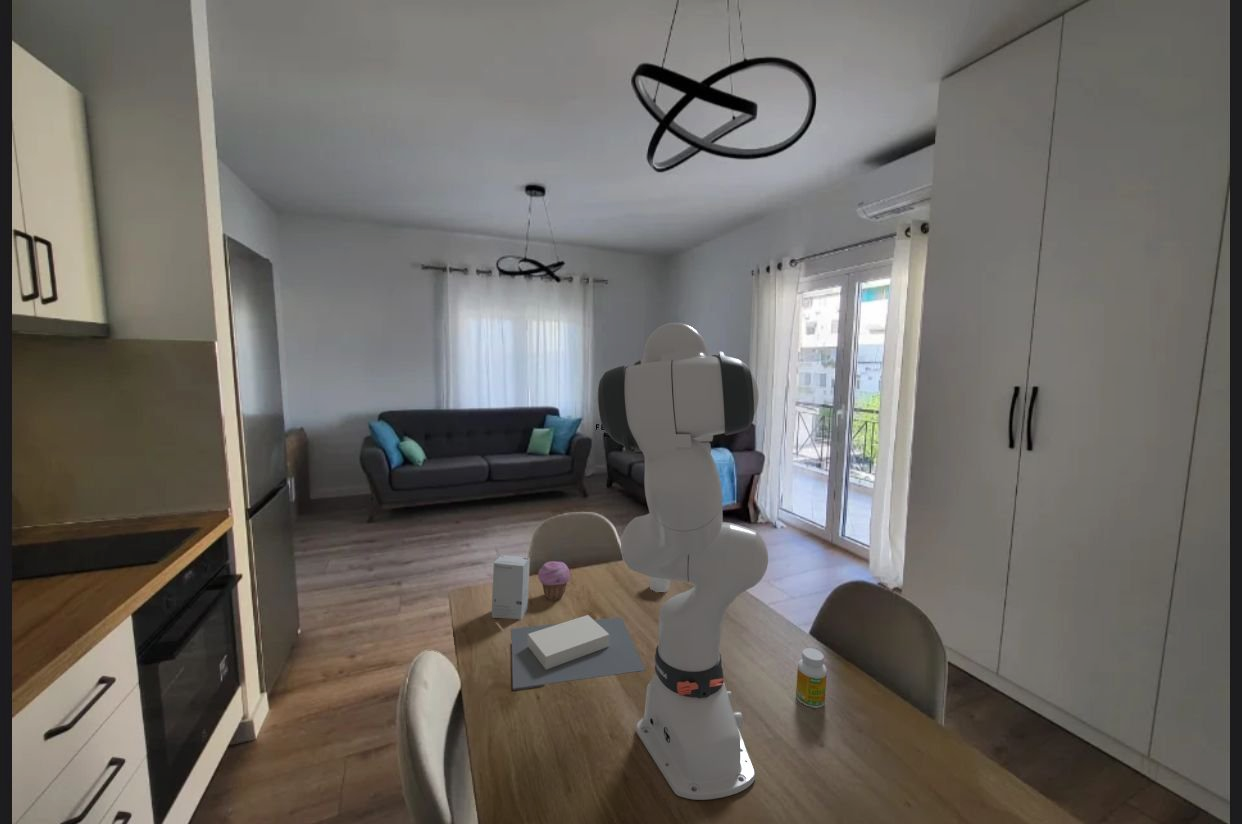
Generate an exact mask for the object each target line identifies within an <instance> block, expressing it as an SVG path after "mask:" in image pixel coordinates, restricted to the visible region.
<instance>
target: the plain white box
mask: <svg viewBox="0 0 1242 824" xmlns="http://www.w3.org/2000/svg"><path fill="white" fill-rule="evenodd" d="M594 620H595V619H594V618H592V617H591V616H590V615H589V614H586V615H584V616H580V617H577V618H574V619H570V620H567V621H565V622H561V623H557V624H558V625H554V626H551V627H548V628H545V629H542V630H539V631H536V632H532V633H529V634H528V647H529V649H530V650H531V651H532V652H533V654H534V655H535V656H536V658H537V659H538V660H539V661H540V663H541V664H542V665H543V667H544V668H545V669H546V670H547V669H550V668H552V667H555V666H558V665H560V664H563V663H566V662H569V661H571V660H574V659H577V658H579V657H582V656H585V655H587V654H590V653H593V652H596V651H598V650H601V649H604V648H606V647H609V634H608V633H607V632H606V631H605V630H604V629H603V628H602V627H601V626H600V625H599V624H598V623H596V622H595V621H594Z"/></svg>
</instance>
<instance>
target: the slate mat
mask: <svg viewBox="0 0 1242 824" xmlns="http://www.w3.org/2000/svg"><path fill="white" fill-rule="evenodd" d="M593 620H594V621H595V622H596V623H598V624H599V625H600V626H601V627H602V628H603V629H604V630H605V631H606V632H607V633H608V634H609V647H606V648H604V649H601V650H598V651H596V652H593V653H590V654H587V655H585V656H582V657H579V658H577V659H574V660H571V661H569V662H566V663H563V664H560V665H558V666H555V667H552V668H550V669H547V670H546V669H545V668H544V667H543V665H542V664H541V663H540V661H539V660H538V659H537V658H536V656H535V655H534V654H533V652H532V651H531V650H530V649H529V647H528V634H529V633H532V632H536V631H539V630H542V629H545V628H548V627H551V626H554V625H558V624H559V623H553V624H545V625H537V626H536V625H534V626H526V627H517V628H511V662H512V664H511V669H512V670H511V671H512V673H511V674H512V691H516V690H518V689H519V690H525V689H526V690H527V689H531V688H538V687H539V686H540V687H545V685H550V684H557V683H564V682H571V681H572V682H573V681H579V680H586V679H591V678H593V679H595V678H600V677H607V676H615V675H621V674H629V673H637V672H643V671H644V672H645V671H646V668H645V665H644V663H643V662H642V659H641V656H640V655H639V652H638V650H637V648H636V645H635V644H634V641H633V639H632V637H631V635H630V633H629V630H628V628H627V626H626V624H625V622H624V619H623V617H622V616H615V617H609V618H598V619H593Z"/></svg>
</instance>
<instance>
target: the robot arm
mask: <svg viewBox="0 0 1242 824" xmlns="http://www.w3.org/2000/svg"><path fill="white" fill-rule="evenodd" d="M644 345H645V346H644V349H643V356H642V357H643V358H642V359H640V360H638V361H636V362H635V363H634V364H633V365H631V366H629V365H627V364H624V365H620V366H617V367H614V368H611V369H609V370H607V371H605V372H604V373H603V374H602V376H601V378H600V380H599V383H598V388H597V392H596V398H595V399H596V400H595V403H596V411H597V416H598V418H599V421H600V422H601V423H600V424H601V427H602V429H603V430H604V431H605V433H607V436H609V437H610V438H611V439H612V440H613V441H614V442H616V443H617V444H620V445H621V446H622V447H623V446H624V449H625V451H626V453H627V454H630V455H634V453H635V451H636V449H637V450H638V451H641V452H642V454H643V456H644V478H643V479H644V480H643V481H644V494H645V499H646V504H647V508H648V513H647V514H644V515H639V516H635V517H634V518H633V519H632V520H631V521H629V522H628V524H627V525H626V526H625V528H624V530H623V532H622V536H621V539H620V552H621V556H622V558H623V561H624V563H625V565H626V566H627V567H628V569H629V570H631V571H633V572H636V573H638V574H641V575H644V576H647V577H649V576H650V577H653V578H659V579H666V580H670V581H674V582H675V581H676V582H679V583H680V582H682V583H688V584H691V585H693V587H692V588H691V589H688V590H687V591H686V590H685V591H684V592H681V593H678V594H675V595H673V596H672V597H670V598H669V599H668V600H666V601H665V602H664V603H663V604H662V606H661V608H660V611H659V614H658V638H657V639H658V640H657V641H658V642H657V643H658V644H657V645H656V648H655V653H654V654H655V655H654V669H655V670H654V674H653V677H652V678H651V680H650V681H649V682H648V684H647V686H646V694H645V703H644V714H643V717H642V718H641V719H640V720H639V721H638V722H637V724H636V728H635V732H636V734H637V735H638V737H639V739H640V740H641V742H642V744H643V745H644V747H645V748H646V750H647V751H648V753H649V754H650V756H651V758H652V760H653V761H654V763H655V764H656V766H657V768H658V769H659V771H660V772H661V774H662V776H663V777H664V778H665V780H666V782H667V783H668V785H669V786H670V788H671V789H672V791H673V792H674V794H675V795H676V796H678V797H681V798H683V799H688V800H694V801H695V800H697V801H698V800H699V801H700V800H702V801H706V800H715V799H716V800H717V799H720V798H725V797H729V796H733V795H735V794H739V793H740V792H742V791H745V790H746V789H748V788H749V787H750V786H751V785H753V783H754V781H756V773H755V769H754V766H753V764H752V761H751V758H750V754H749V752H748V750H747V748H746V744H745V741H744V739H743V736H742V734H741V731H740V729H739V728H743V727H744V718H743V715H742V712H740V711H734V710H733V707H732V704H731V701H730V700H732V699H733V695H732V692H731V690H727V686H726V684H725V681H724V680H725V679H724V677H725V676H724V667H723V664H724V663H723V660H722V655H721V651H720V648H721V647H720V645H721V637H722V636H721V635H722V628H723V622H724V618H725V615H726V613H727V611H728V609H729V607H730V606H731V604H732V603H733V602H734V601H735V600H736V599H737V598H738V597H739V596H740V595H742V594H743V593H745V592H747V591H748V590H750V589H752V588H754V587H755V586H756V585H757V584H759V583H760V582H761V580H762V579H763V578H764V576H765V574H766V572H767V569H768V564H769V553H768V548H767V546H766V543H765V541H764V539H763V538H762V536H761V534H760V533H759V532H758V531H757V530H755V529H752V528H749V527H745V526H742V525H740V524H736V523H733V522H725V521H723V518H724V517H723V516H724V515H723V513H724V512H723V493H722V492H723V489H722V483H721V478H720V474H719V470H718V467H717V465H716V462H715V459H714V458H713V455H712V454H711V452H712V447H711V443H710V442H713V440H714V436H716V435H722V434H724V435H725V436H729V435H734V434H737V433H742V432H743V431H746V430H748V429H749V428H750V427H751V425H752V424H753V422H754V419H755V415H756V412H757V409H758V405H759V390H758V384H757V381H756V379H755V377H754V375H753V374H752V371H751V368H750V366H748V364H746V363H745V362H743V361H742V360H740V359H738V358H735V357H731V356H726V355H725V354H724V352H723V351H721V350H720V351H718V354H713V355H711V352H710V350H709V347H708V345H707V343H706V341H705V339H704V338H703V336H702V335H701V334H700V333H699V332H698V331H697V330H696V329H695V328H694V327H692V326H690V325H688V324H686V323H684V322H683V323H682V322H669V323H665V324H663V325H660V326H659V327H657V328H656V329H654V330H653V332H652V333H651V334H650V335H649V337H648V338H647V340H646V342H645V344H644Z"/></svg>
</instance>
